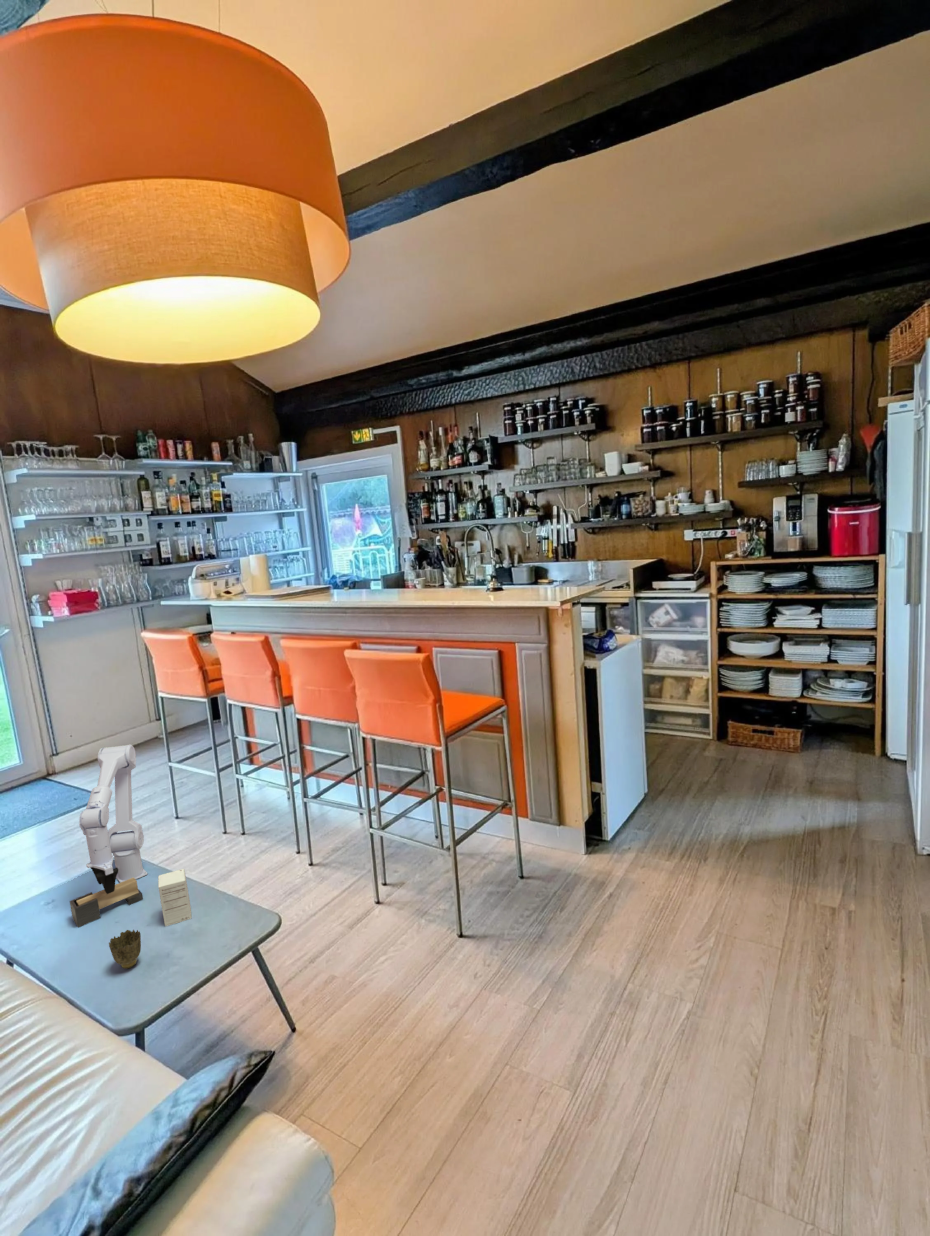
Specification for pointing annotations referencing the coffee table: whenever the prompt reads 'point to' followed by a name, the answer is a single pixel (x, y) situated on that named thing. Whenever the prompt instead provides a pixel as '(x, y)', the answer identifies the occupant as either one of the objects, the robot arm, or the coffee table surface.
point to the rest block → (134, 898)
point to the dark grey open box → (85, 911)
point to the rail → (112, 894)
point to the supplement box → (174, 897)
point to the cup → (126, 948)
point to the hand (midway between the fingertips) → (106, 887)
